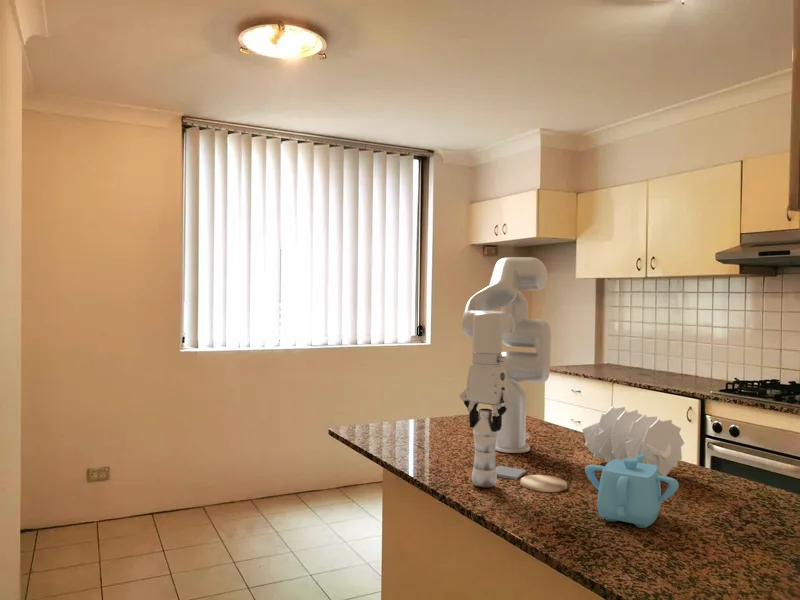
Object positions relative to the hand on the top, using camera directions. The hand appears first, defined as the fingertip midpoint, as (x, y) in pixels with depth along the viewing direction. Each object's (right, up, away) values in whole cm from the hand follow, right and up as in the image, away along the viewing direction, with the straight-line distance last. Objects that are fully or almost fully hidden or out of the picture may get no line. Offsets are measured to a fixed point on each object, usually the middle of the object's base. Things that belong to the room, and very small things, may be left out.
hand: (485, 428), depth 157 cm
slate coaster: (+8, -15, +12) cm, 21 cm away
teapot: (+31, -16, -19) cm, 40 cm away
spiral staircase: (+45, -16, +17) cm, 51 cm away
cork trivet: (+16, -16, +3) cm, 22 cm away
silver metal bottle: (0, -15, 0) cm, 15 cm away
